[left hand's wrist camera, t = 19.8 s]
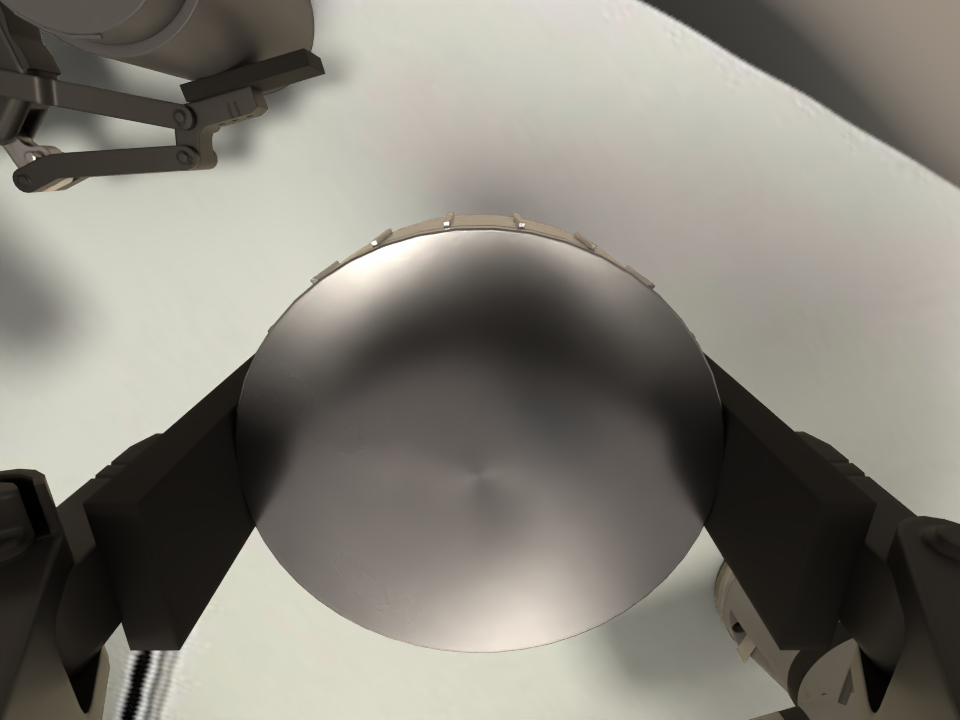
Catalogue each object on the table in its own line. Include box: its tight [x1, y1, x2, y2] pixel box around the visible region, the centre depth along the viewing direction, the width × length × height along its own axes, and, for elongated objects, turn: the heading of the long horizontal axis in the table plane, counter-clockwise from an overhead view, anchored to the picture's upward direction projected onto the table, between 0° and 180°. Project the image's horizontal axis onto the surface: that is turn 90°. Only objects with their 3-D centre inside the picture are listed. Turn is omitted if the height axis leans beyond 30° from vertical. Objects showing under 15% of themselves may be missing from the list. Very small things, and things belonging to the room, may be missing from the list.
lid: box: [234, 212, 725, 653], centre depth 11 cm, size 9×10×2 cm
